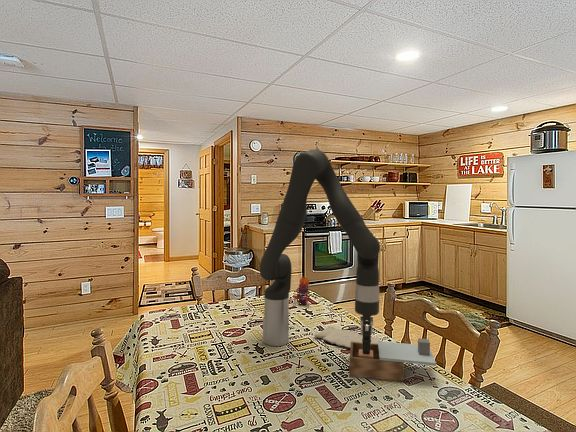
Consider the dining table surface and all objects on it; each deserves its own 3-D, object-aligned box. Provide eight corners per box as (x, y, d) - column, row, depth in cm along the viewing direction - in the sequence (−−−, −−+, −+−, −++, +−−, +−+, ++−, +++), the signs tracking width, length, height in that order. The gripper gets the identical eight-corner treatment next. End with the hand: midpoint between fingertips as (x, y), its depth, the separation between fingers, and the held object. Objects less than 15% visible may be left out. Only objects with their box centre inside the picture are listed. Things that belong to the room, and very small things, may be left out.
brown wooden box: (349, 376, 108) (349, 357, 107) (350, 358, 119) (350, 341, 119) (403, 382, 104) (404, 363, 104) (399, 363, 116) (399, 345, 116)
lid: (379, 360, 105) (379, 344, 105) (377, 343, 117) (378, 329, 117) (436, 365, 102) (436, 349, 102) (428, 347, 114) (428, 333, 113)
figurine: (291, 307, 171) (291, 277, 170) (294, 302, 180) (294, 273, 179) (308, 308, 170) (309, 278, 169) (310, 303, 179) (311, 274, 178)
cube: (358, 369, 111) (358, 355, 110) (358, 362, 115) (358, 349, 115) (373, 370, 110) (373, 356, 109) (372, 363, 114) (372, 350, 114)
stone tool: (312, 341, 135) (373, 358, 119) (312, 331, 134) (373, 347, 119) (329, 331, 145) (388, 346, 130) (329, 322, 145) (388, 335, 130)
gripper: (380, 305, 103) (379, 360, 104) (378, 292, 117) (377, 340, 118) (354, 303, 105) (353, 358, 106) (355, 290, 119) (354, 338, 120)
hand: (366, 348), depth 112 cm, fingers open, 6 cm apart
